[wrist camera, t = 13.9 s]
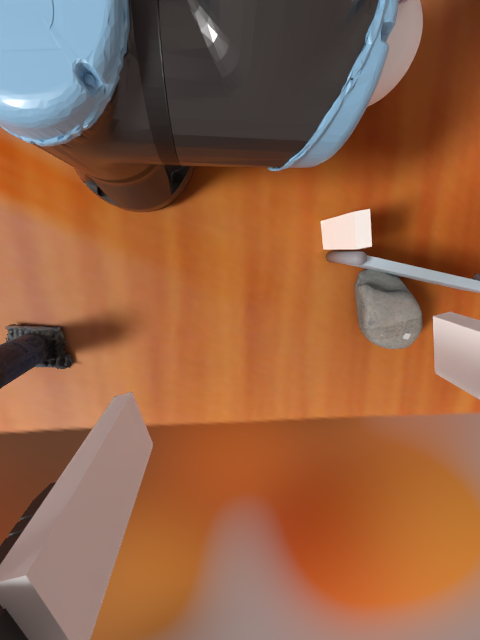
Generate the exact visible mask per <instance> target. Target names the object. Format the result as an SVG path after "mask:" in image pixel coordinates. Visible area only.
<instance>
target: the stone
mask: <svg viewBox="0 0 480 640" xmlns="http://www.w3.org/2000/svg"><path fill="white" fill-rule="evenodd" d="M355 296H356V304H357V315H358V322H359V326H360V329H361V331H362V333H363V334H364V335H365V337H366V338H367V339H368V340H369V341H371V342H372V343H374V344H376V345H378V346H380V347H384V348H388V349H402V348H406V347H408V346H410V345H411V344H412V343H413V342H414V341H415V340H416V338H417V337H418V335H419V334H420V332H421V330H422V326H423V320H422V312H421V309H420V307H419V304H418V303H417V301H416V299H415V298H414V296H413V295H412V294H411V292H410V291H409V290H408V289H407V287H406V286H405V285H404V283H403V282H402V280H401V279H400V278H399V277H397V276H395V275H393V274H388V273H384V272H380V271H375V270H370V269H366V270H363V271H361V272H360V273H359V274H358V276H357V282H356V283H355Z"/></svg>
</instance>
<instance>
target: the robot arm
mask: <svg viewBox="0 0 480 640" xmlns="http://www.w3.org/2000/svg"><path fill="white" fill-rule="evenodd" d="M398 3H399V0H0V126H1V127H2V128H3V129H5V130H6V131H7V132H9V133H10V134H12V135H14V136H16V137H17V138H19V139H20V140H24V141H26V142H27V143H31V144H34V145H35V146H37V147H39V148H41V149H43V150H44V151H46V152H48V153H50V154H52V155H53V156H55V157H57V158H59V159H60V160H62V161H64V162H66V163H68V164H69V165H71V166H73V167H74V168H75V170H76V172H77V174H78V175H79V177H80V178H81V179H82V181H83V182H84V183H85V184H86V185H87V187H88V188H89V189H90V190H92V191H93V192H94V193H95V194H96V195H97V196H99V197H100V198H101V199H103V200H105V201H106V202H108V203H110V204H112V205H114V206H117V207H119V208H122V209H125V210H128V211H133V212H150V211H155V210H158V209H161V208H163V207H165V206H167V205H169V204H170V203H172V202H173V201H174V200H176V199H177V198H178V197H179V196H180V195H181V193H182V192H183V191H184V190H185V188H186V186H187V185H188V183H189V181H190V178H191V176H192V173H193V169H194V166H215V167H255V168H268V170H271V171H280V170H283V169H286V168H309V167H314V166H317V165H319V164H320V163H323V162H325V161H326V160H328V159H330V158H331V157H332V156H333V155H334V154H336V153H337V152H338V150H339V149H340V148H341V147H342V146H343V145H344V144H345V142H346V141H347V140H348V138H349V137H350V136H351V134H352V133H353V131H354V129H355V128H356V126H357V124H358V123H359V121H360V119H361V117H362V116H363V114H364V112H365V110H366V108H367V106H368V104H369V102H370V100H371V97H372V95H373V93H374V91H375V88H376V86H377V84H378V81H379V78H380V76H381V73H382V70H383V67H384V64H385V61H386V58H387V55H388V51H389V46H388V44H387V43H386V41H387V39H388V37H389V35H390V33H391V31H392V29H393V28H394V26H395V23H396V17H397V11H398ZM433 332H434V358H435V373H436V374H437V375H439V376H441V377H442V378H444V379H446V380H447V381H449V382H451V383H452V384H454V385H456V386H457V387H459V388H461V389H462V390H464V391H466V392H468V393H469V394H471V395H473V396H474V397H476V398H478V399H479V400H480V320H477V319H473V318H470V317H466V316H463V315H460V314H456V313H453V312H447V313H443V314H439V315H435V316H433ZM152 447H153V443H152V441H151V438H150V436H149V433H148V430H147V428H146V425H145V423H144V420H143V418H142V415H141V413H140V410H139V408H138V405H137V403H136V400H135V398H134V395H133V393H132V392H130V393H126V394H122V395H119V396H115V397H114V398H113V399H112V401H111V402H110V404H109V405H108V407H107V408H106V410H105V411H104V413H103V414H102V416H101V417H100V419H99V420H98V422H97V423H96V425H95V426H94V427H93V429H92V430H91V432H90V434H89V435H88V436H87V438H86V439H85V441H84V442H83V444H82V445H81V447H80V448H79V450H78V451H77V453H76V454H75V455H74V457H73V458H72V460H71V461H70V463H69V464H68V466H67V467H66V469H65V470H64V472H63V473H62V475H61V476H60V478H59V479H58V481H57V482H55V483H51V484H50V485H49V486H48V487H47V488H46V489H45V490H44V491H42V492H41V493H40V494H39V495H38V496H37V497H36V498H35V499H34V500H33V501H32V503H31V504H30V506H29V507H28V508H27V510H26V511H25V513H24V514H23V515H22V517H21V518H20V522H17V524H16V525H15V526H14V528H13V529H12V531H11V532H10V533H9V537H8V538H6V539H5V540H4V542H3V543H2V544H1V546H0V640H90V638H91V635H92V632H93V629H94V626H95V623H96V620H97V617H98V614H99V611H100V608H101V605H102V601H103V598H104V595H105V592H106V589H107V586H108V583H109V580H110V577H111V573H112V571H113V567H114V564H115V561H116V558H117V555H118V552H119V549H120V546H121V542H122V540H123V537H124V533H125V530H126V527H127V524H128V521H129V518H130V515H131V512H132V509H133V505H134V503H135V499H136V496H137V493H138V490H139V487H140V484H141V481H142V478H143V475H144V472H145V469H146V465H147V462H148V459H149V456H150V453H151V450H152Z"/></svg>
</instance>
